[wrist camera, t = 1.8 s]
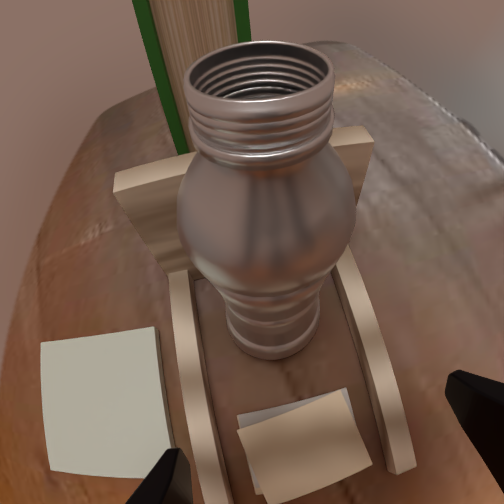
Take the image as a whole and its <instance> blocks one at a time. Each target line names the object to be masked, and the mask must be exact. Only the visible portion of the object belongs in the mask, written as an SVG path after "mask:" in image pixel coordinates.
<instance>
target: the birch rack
mask: <svg viewBox="0 0 504 504" xmlns="http://www.w3.org/2000/svg"><path fill="white" fill-rule="evenodd" d="M329 143H330V144H331V145H332V147H333V148H334V149H335V150H336V152H337V153H338V155H339V157H340V158H341V160H342V162H343V163H344V165H345V167H346V168H347V171H348V173H349V175H350V177H351V179H352V184H353V190H354V196H355V203H356V206H357V202H358V199H359V196H360V192H361V189H362V186H363V182H364V179H365V175H366V172H367V168H368V164H369V161H370V157H371V153H372V149H373V146H374V140H373V139H372V137H371V136H370V135H369V133H368V132H367V130H366V129H365V128H364V126H351V127H341V128H333V131H332V135H331V138H330V140H329ZM196 153H197V151H196V152H191V153H187V154H183V155H179V156H175V157H171V158H167V159H163V160H159V161H155V162H152V163H148V164H144V165H141V166H137V167H134V168H130V169H127V170H123V171H120V172H117V173H115V180H114V188H113V194H114V195H115V197H116V198H117V200H118V202H119V203H120V205H121V207H122V208H123V210H124V211H125V213H126V215H127V216H128V218H129V219H130V221H131V223H132V224H133V226H134V227H135V229H136V230H137V232H138V233H139V235H140V236H141V238H142V239H143V241H144V243H145V244H146V246H147V247H148V249H149V250H150V252H151V253H152V255H153V256H154V257H155V259H156V260H157V262H158V263H159V265H160V266H161V268H162V269H163V271H164V272H165V274H166V275H167V276H168V278H169V289H170V300H171V310H172V320H173V329H174V337H175V345H176V353H177V361H178V368H179V375H180V381H181V388H182V394H183V400H184V406H185V412H186V418H187V423H188V429H189V434H190V439H191V444H192V449H193V454H194V459H195V463H196V468H197V473H198V477H199V481H200V485H201V490H202V494H203V498H204V502H205V504H234V500H233V496H232V492H231V488H230V484H229V480H228V475H227V471H226V467H225V462H224V458H223V453H222V448H221V444H220V439H219V434H218V429H217V424H216V419H215V414H214V409H213V404H212V398H211V393H210V387H209V382H208V376H207V370H206V364H205V358H204V352H203V346H202V339H201V333H200V326H199V319H198V312H197V305H196V298H195V290H194V282H193V280H197V279H202V278H205V277H204V275H203V274H202V273H201V272H200V271H199V270H198V269H197V268H196V267H195V265H194V264H193V262H192V261H191V260H190V258H189V257H188V256H187V254H186V252H185V250H184V248H183V246H182V244H181V242H180V239H179V235H178V231H177V195H178V191H179V188H180V184H181V182H182V180H183V178H184V175H185V173H186V171H187V169H188V167H189V165H190V163H191V161H192V159H193V158H194V156H195V154H196ZM331 274H332V277H333V280H334V282H335V285H336V288H337V291H338V294H339V297H340V300H341V303H342V306H343V309H344V312H345V316H346V319H347V322H348V325H349V328H350V331H351V335H352V338H353V341H354V344H355V348H356V351H357V354H358V358H359V361H360V364H361V368H362V371H363V375H364V378H365V382H366V386H367V389H368V393H369V397H370V400H371V404H372V408H373V412H374V416H375V420H376V424H377V428H378V432H379V436H380V440H381V444H382V449H383V453H384V457H385V462H386V466H387V471H388V472H391V473H393V474H395V475H398V474H401V473H403V472H405V471H408V470H410V469H412V468H414V467H416V466H417V465H416V460H415V455H414V450H413V446H412V441H411V437H410V433H409V429H408V424H407V420H406V416H405V412H404V409H403V405H402V401H401V397H400V394H399V390H398V386H397V383H396V379H395V376H394V373H393V369H392V366H391V363H390V359H389V356H388V353H387V350H386V347H385V343H384V340H383V337H382V334H381V331H380V328H379V325H378V322H377V319H376V316H375V314H374V311H373V308H372V305H371V302H370V299H369V297H368V294H367V291H366V288H365V286H364V283H363V280H362V278H361V275H360V273H359V270H358V267H357V265H356V262H355V260H354V257H353V255H352V252H351V250H350V247H349V245H348V244H347V246H346V249H345V251H344V253H343V254H342V256H341V257H340V259H339V260H338V262H337V263H336V265H335V266H334V268H333V269H332V270H331Z"/></svg>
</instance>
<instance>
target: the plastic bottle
mask: <svg viewBox="0 0 504 504" xmlns="http://www.w3.org/2000/svg"><path fill="white" fill-rule="evenodd" d="M183 81H184V87H183V89H184V93H185V97H186V101H187V105H188V110H189V114H190V116H189V124H188V127H189V131H190V135H191V139H192V142H193V145H194V147H195V148H196V150H197V153H196V154H195V156H194V158H193V159H192V161H191V163H190V165H189V167H188V169H187V171H186V173H185V175H184V178H183V180H182V182H181V184H180V188H179V191H178V195H177V231H178V235H179V239H180V242H181V244H182V246H183V248H184V250H185V252H186V254H187V256H188V257H189V258H190V260H191V261H192V262H193V264H194V265H195V267H196V268H197V269H198V270H199V271H200V272H201V273H202V274H203V275H204V277H205V278H207V279H208V281H209V282H210V283H211V284H212V285H213V286H214V287H215V288H216V289H217V290H218V291H219V292H220V294H221V296H222V297H223V299H224V301H225V304H226V311H225V312H226V321H227V328H228V331H229V334H230V336H231V338H232V339H233V341H234V343H235V344H236V345H237V346H238V347H239V348H240V349H241V350H243V351H244V352H246V353H247V354H249V355H251V356H254V357H256V358H260V359H265V360H277V359H282V358H286V357H288V356H291V355H293V354H295V353H297V352H298V351H300V350H301V349H303V348H304V347H305V346H306V345H307V344H308V343H309V342H310V340H311V339H312V337H313V336H314V334H315V332H316V330H317V327H318V324H319V319H320V301H319V292H320V289H321V287H322V285H323V282H324V281H325V279H326V278H327V276H328V275H329V273H330V272H331V270H332V269H333V268H334V266H335V265H336V263H337V262H338V260H339V259H340V257H341V256H342V254H343V253H344V251H345V249H346V246H347V244H348V242H349V240H350V238H351V235H352V232H353V229H354V226H355V221H356V203H355V196H354V190H353V184H352V179H351V177H350V175H349V173H348V171H347V168H346V167H345V165H344V163H343V162H342V160H341V158H340V157H339V155H338V153H337V152H336V150H335V149H334V148H333V147H332V145H331V144H330V143H329V140H330V138H331V135H332V131H333V124H334V116H335V113H334V108H333V105H332V101H333V92H334V83H335V73H334V66H333V63H332V61H331V60H330V59H329V58H328V57H327V56H326V55H324V54H323V53H322V52H320V51H318V50H316V49H314V48H311V47H308V46H305V45H302V44H298V43H293V42H286V41H275V40H261V41H249V42H242V43H237V44H232V45H228V46H225V47H221V48H219V49H216V50H214V51H211V52H209V53H207V54H205V55H203V56H201V57H200V58H198V59H197V60H196V61H194V62H193V63H192V64H191V65H190V66H189V67H188V68H187V70H186V72H185V74H184V79H183Z"/></svg>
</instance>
